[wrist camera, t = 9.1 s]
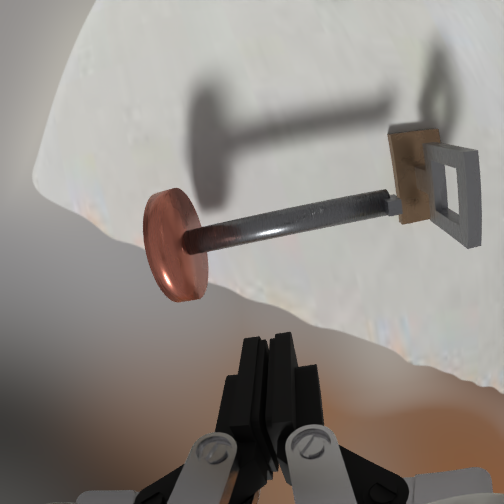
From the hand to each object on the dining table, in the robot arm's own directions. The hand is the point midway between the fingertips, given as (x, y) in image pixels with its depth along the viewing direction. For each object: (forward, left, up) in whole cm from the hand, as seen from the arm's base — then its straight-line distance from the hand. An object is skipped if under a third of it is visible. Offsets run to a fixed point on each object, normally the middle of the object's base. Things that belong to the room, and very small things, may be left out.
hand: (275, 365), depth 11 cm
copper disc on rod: (0, 0, -22) cm, 22 cm away
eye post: (0, +16, -25) cm, 30 cm away
